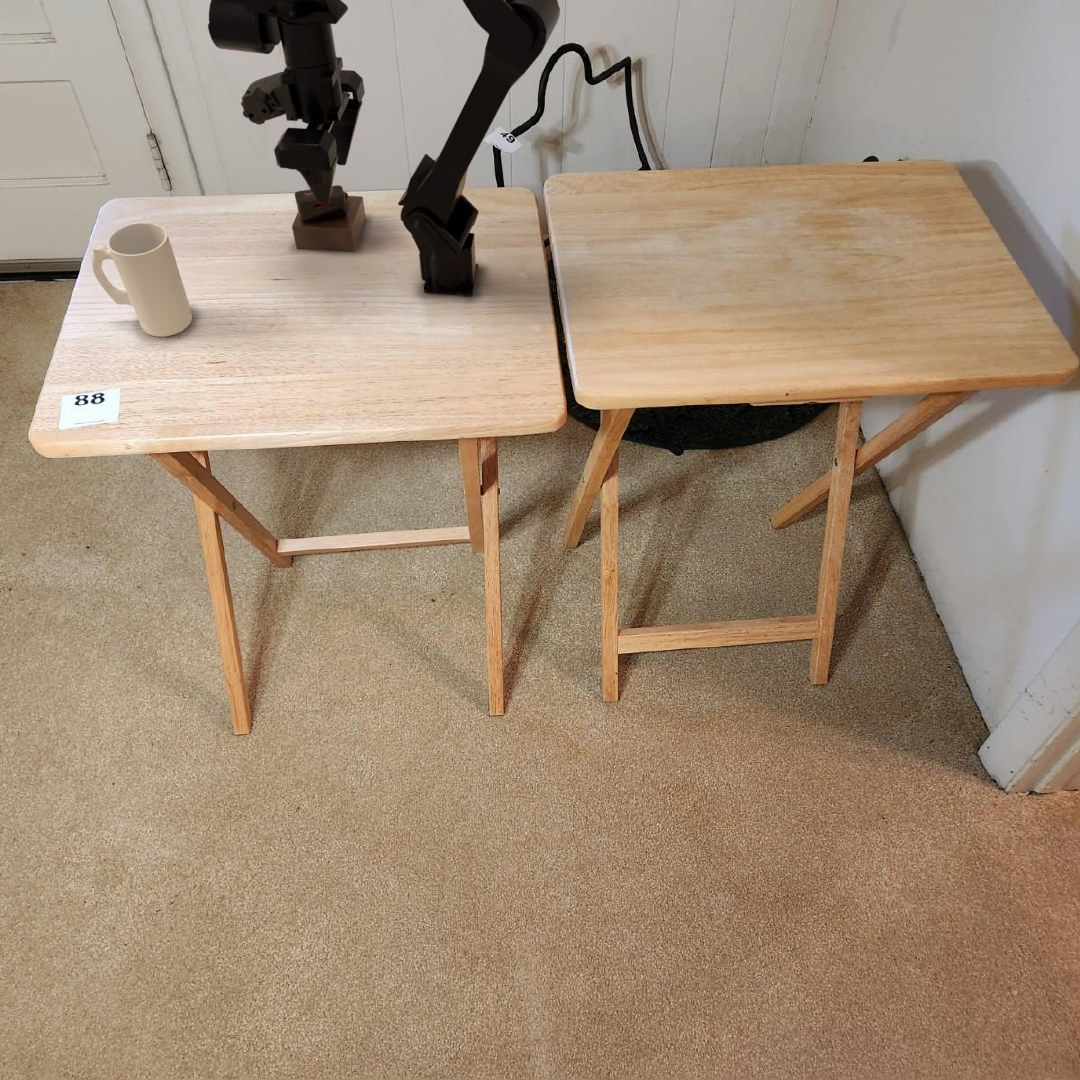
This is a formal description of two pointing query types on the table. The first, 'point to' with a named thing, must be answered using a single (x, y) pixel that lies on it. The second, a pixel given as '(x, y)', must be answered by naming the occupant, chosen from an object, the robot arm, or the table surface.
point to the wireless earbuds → (315, 211)
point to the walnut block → (332, 229)
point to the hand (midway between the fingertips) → (333, 184)
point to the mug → (146, 277)
